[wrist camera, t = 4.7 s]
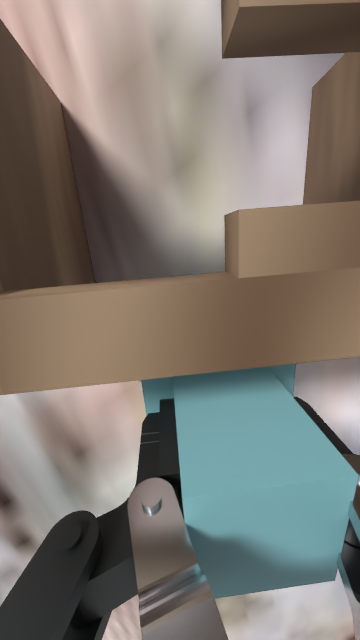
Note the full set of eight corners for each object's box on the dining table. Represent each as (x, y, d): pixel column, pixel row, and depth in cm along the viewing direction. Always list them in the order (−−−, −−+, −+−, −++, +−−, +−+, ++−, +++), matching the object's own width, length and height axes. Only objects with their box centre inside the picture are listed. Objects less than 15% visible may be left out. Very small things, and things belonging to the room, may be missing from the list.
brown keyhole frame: (76, 299, 13) (-71, 403, 5) (32, 102, 11) (-518, -485, 2) (316, 277, 14) (554, 335, 6) (337, 85, 11) (909, -416, 3)
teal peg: (156, 406, 16) (150, 633, 7) (144, 314, 14) (112, 460, 5) (252, 396, 16) (371, 599, 7) (254, 304, 14) (428, 422, 5)
